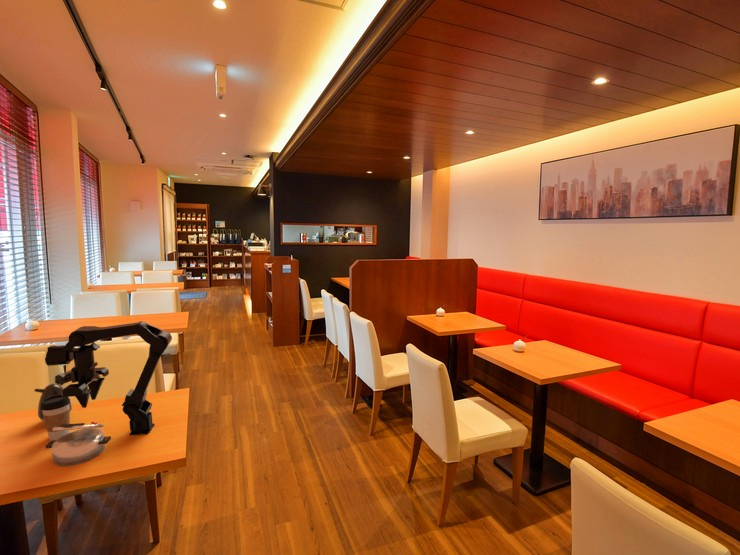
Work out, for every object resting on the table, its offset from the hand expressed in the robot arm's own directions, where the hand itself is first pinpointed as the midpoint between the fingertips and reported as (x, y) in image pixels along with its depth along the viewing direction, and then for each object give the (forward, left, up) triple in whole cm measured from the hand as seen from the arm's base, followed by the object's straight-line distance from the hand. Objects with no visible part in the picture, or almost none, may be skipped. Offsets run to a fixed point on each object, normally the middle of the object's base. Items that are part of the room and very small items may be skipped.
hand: (89, 403), depth 137 cm
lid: (-1, +10, -4) cm, 11 cm away
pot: (-1, +10, -13) cm, 16 cm away
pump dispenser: (+20, -14, -13) cm, 28 cm away
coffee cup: (+12, -2, -13) cm, 18 cm away
